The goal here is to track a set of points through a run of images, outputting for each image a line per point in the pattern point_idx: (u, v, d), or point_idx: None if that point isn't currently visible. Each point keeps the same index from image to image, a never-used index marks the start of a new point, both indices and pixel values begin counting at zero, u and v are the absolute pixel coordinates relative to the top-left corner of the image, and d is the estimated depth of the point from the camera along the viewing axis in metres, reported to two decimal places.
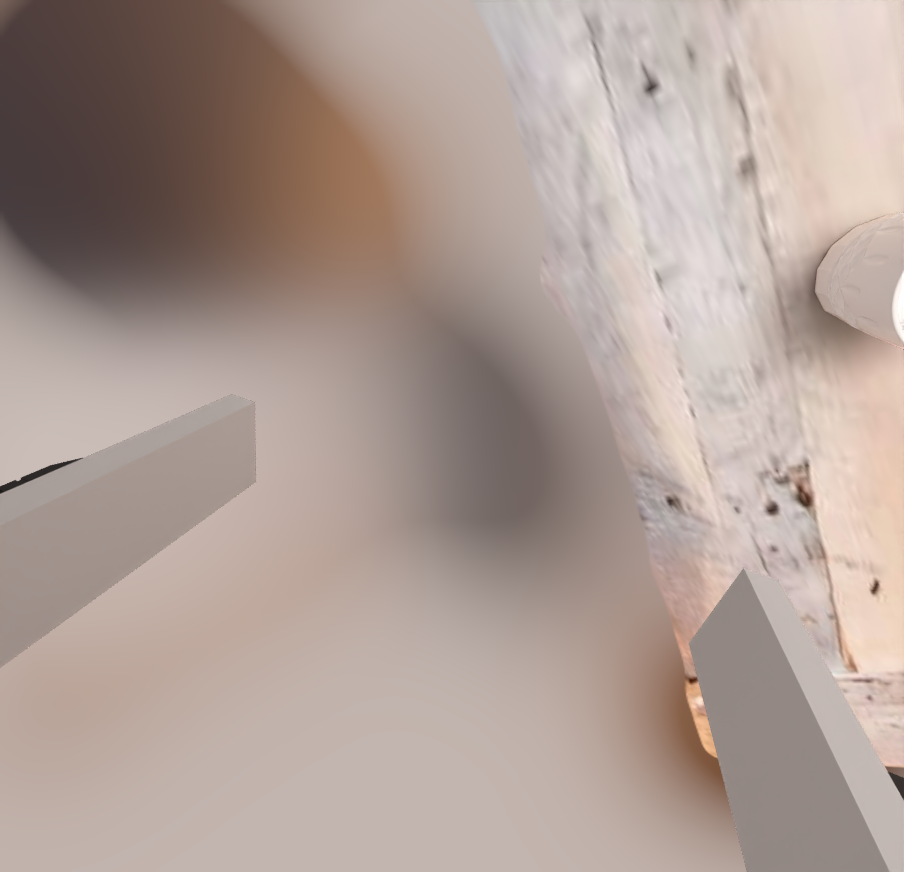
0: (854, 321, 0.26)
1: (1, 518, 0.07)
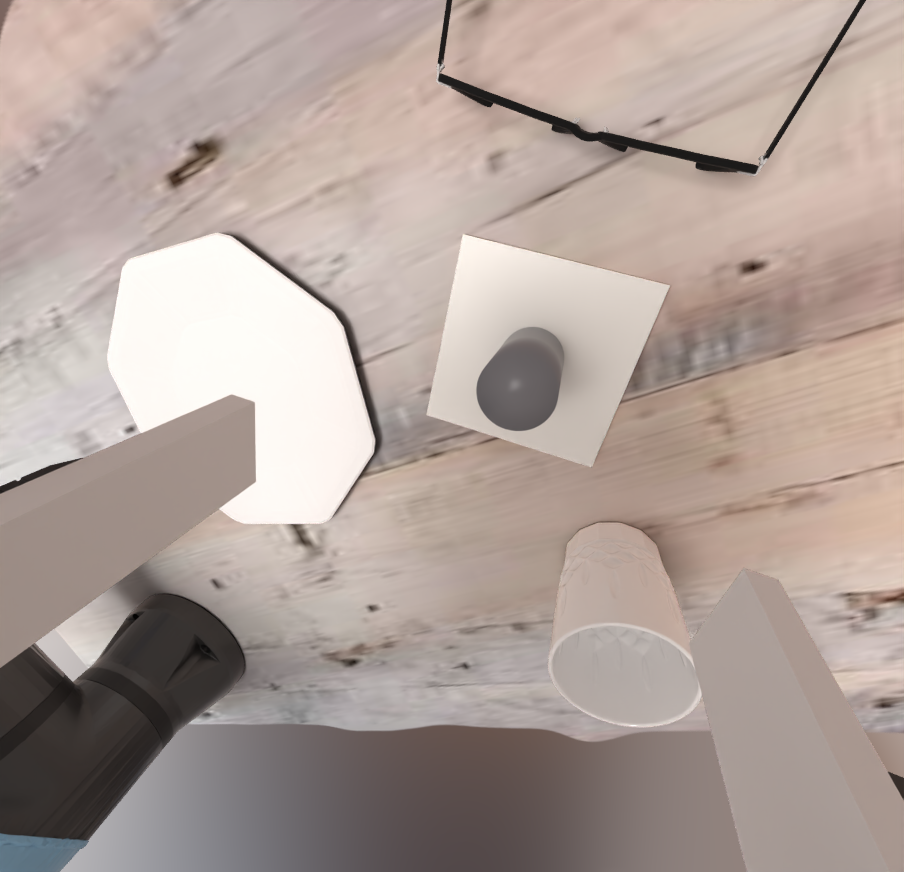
0: None
1: (1, 518, 0.07)
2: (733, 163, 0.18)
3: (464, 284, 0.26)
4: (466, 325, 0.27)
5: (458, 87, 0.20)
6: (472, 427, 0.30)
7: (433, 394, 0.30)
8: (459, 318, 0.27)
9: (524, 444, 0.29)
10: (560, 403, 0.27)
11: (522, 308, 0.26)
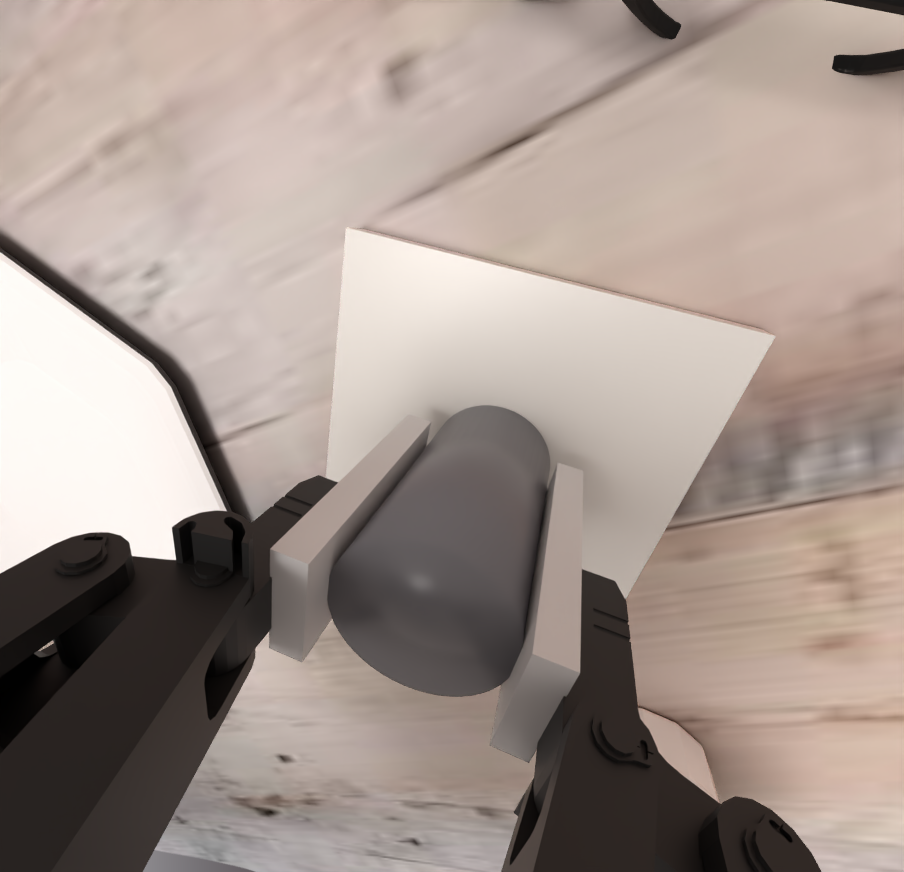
0: None
1: (327, 532, 0.08)
2: None
3: (358, 324, 0.14)
4: (369, 397, 0.15)
5: None
6: None
7: None
8: (356, 384, 0.15)
9: None
10: None
11: (468, 371, 0.13)
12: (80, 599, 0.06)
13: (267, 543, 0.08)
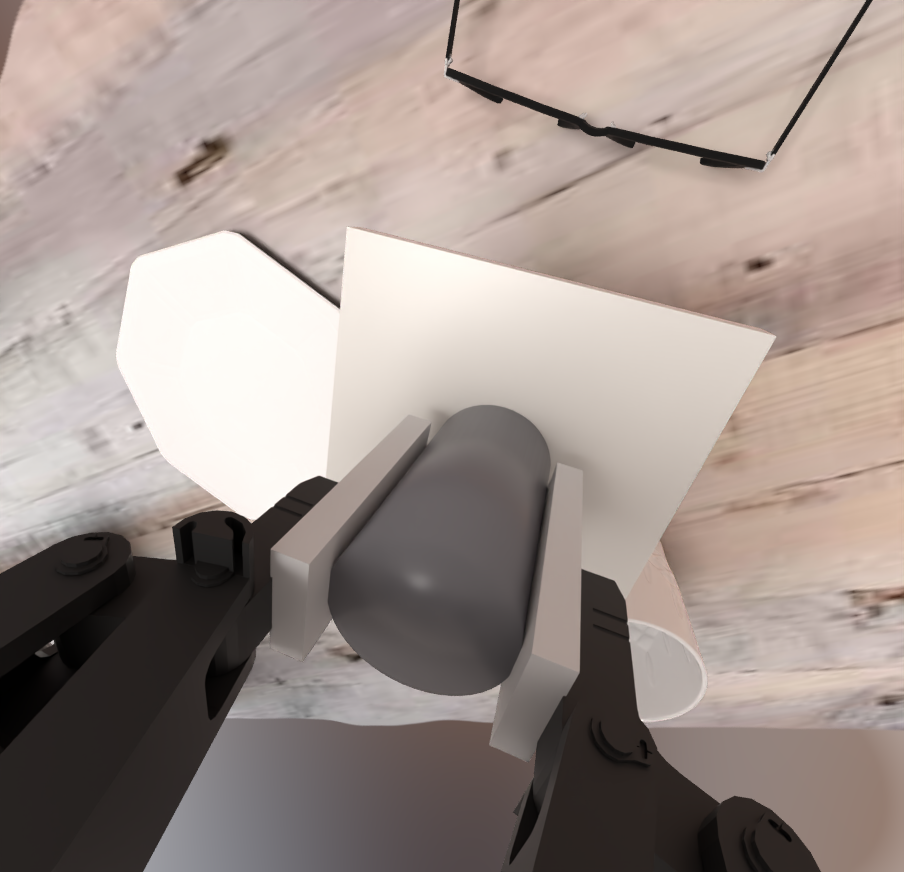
0: None
1: (327, 533, 0.08)
2: (741, 158, 0.18)
3: (359, 323, 0.14)
4: (369, 396, 0.15)
5: (466, 81, 0.20)
6: None
7: None
8: (357, 383, 0.15)
9: None
10: None
11: (469, 370, 0.13)
12: (80, 599, 0.06)
13: (267, 543, 0.08)
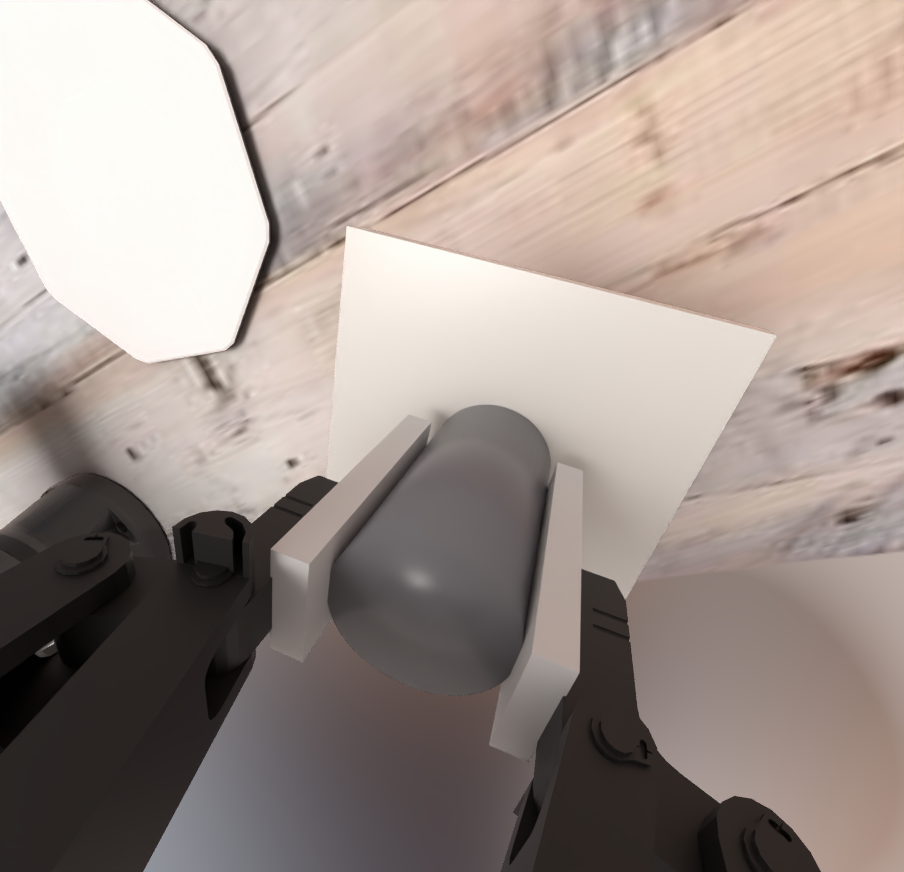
0: None
1: (327, 533, 0.08)
2: None
3: (359, 322, 0.14)
4: (369, 396, 0.15)
5: None
6: None
7: None
8: (356, 383, 0.15)
9: None
10: None
11: (468, 370, 0.13)
12: (81, 599, 0.06)
13: (267, 543, 0.08)
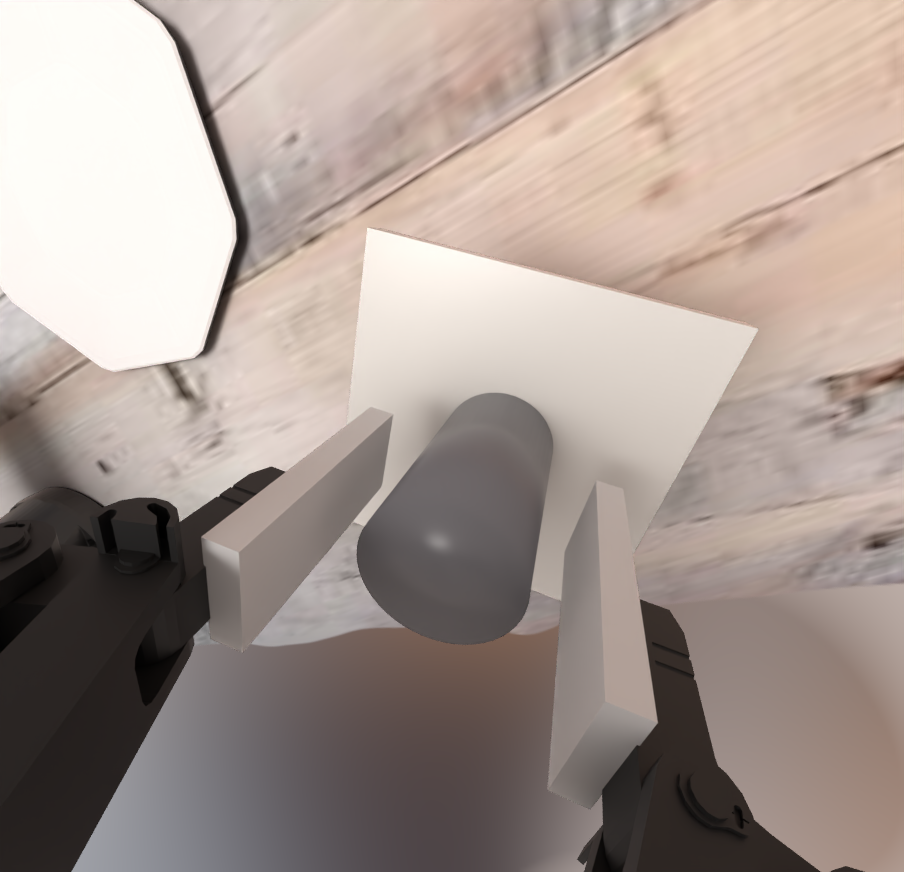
0: None
1: (263, 521, 0.08)
2: None
3: (377, 316, 0.15)
4: (385, 385, 0.16)
5: None
6: None
7: None
8: (373, 373, 0.16)
9: None
10: (547, 517, 0.16)
11: (478, 360, 0.14)
12: (4, 584, 0.06)
13: (206, 532, 0.08)
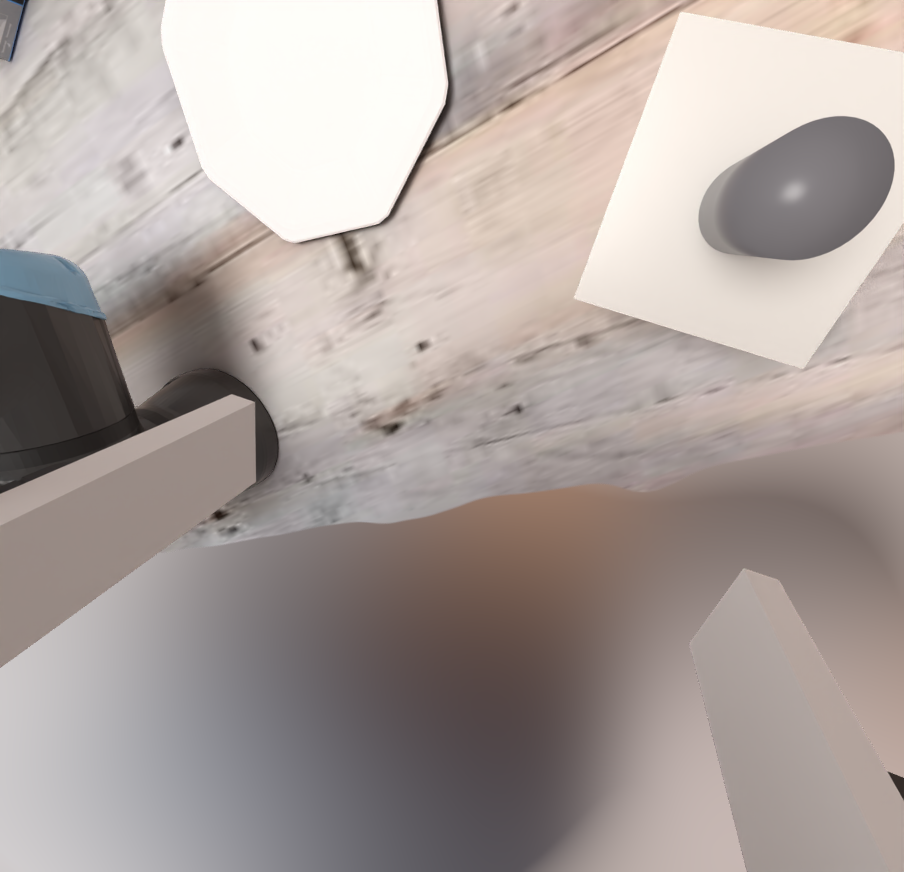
0: None
1: (1, 518, 0.07)
2: None
3: (667, 94, 0.19)
4: (657, 160, 0.20)
5: None
6: (636, 314, 0.23)
7: (588, 268, 0.23)
8: (649, 149, 0.20)
9: (708, 337, 0.22)
10: (777, 274, 0.20)
11: (750, 127, 0.18)
12: None
13: None
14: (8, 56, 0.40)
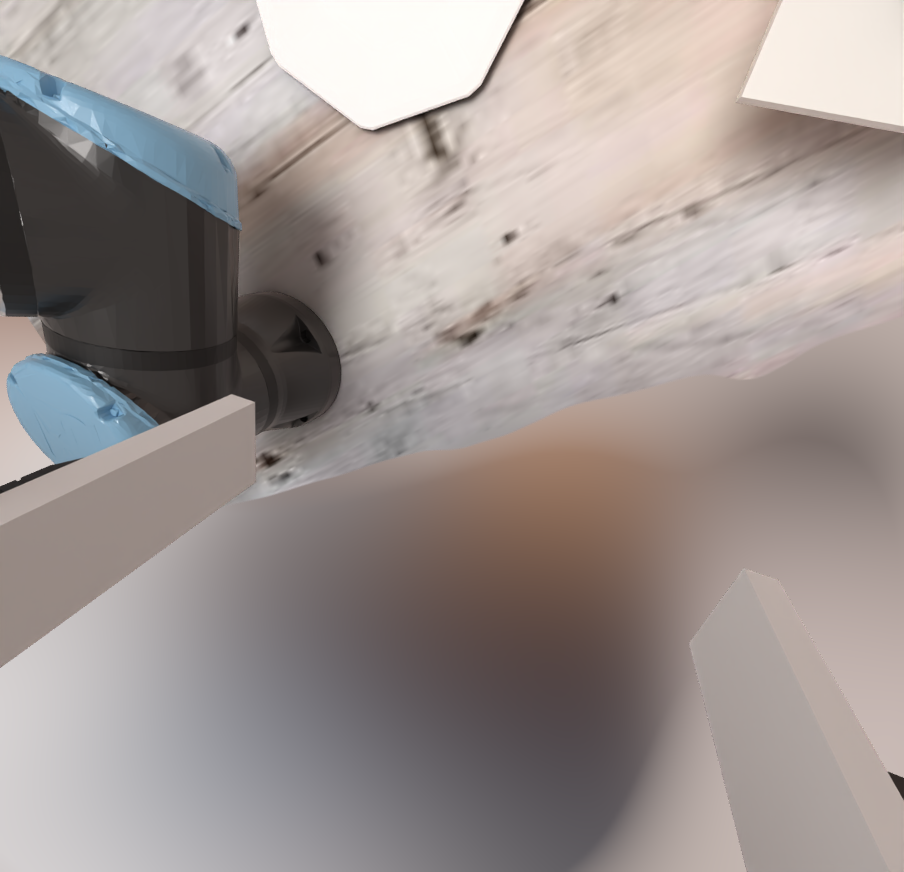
0: None
1: (1, 518, 0.07)
2: None
3: None
4: None
5: None
6: (815, 106, 0.21)
7: (763, 55, 0.21)
8: None
9: (900, 122, 0.20)
10: None
11: None
12: None
13: None
14: None
